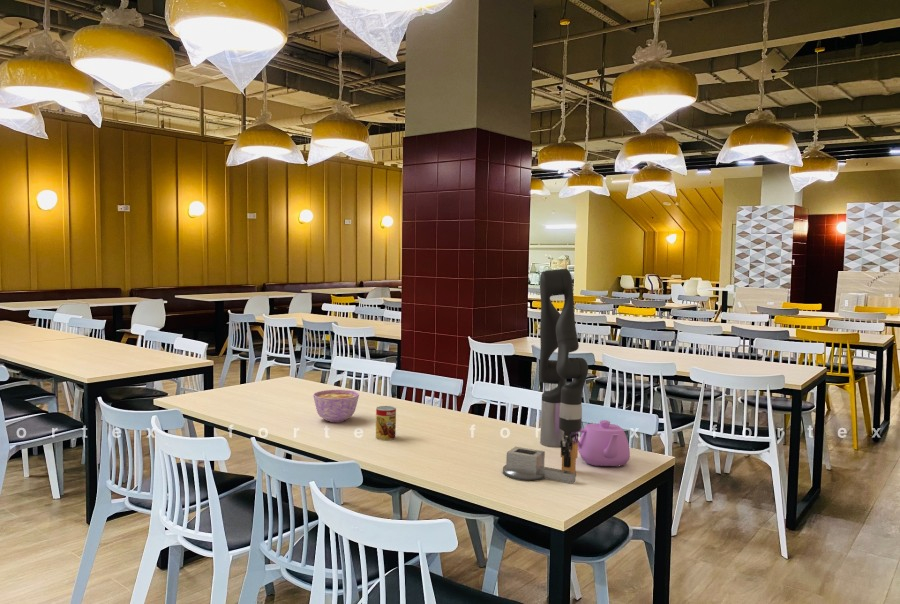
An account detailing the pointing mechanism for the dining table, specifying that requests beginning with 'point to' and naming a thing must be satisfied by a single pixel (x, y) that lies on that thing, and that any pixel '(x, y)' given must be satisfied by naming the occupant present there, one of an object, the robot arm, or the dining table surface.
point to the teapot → (603, 444)
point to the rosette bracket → (533, 467)
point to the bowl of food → (336, 404)
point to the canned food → (385, 422)
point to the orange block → (573, 459)
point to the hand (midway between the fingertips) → (568, 465)
